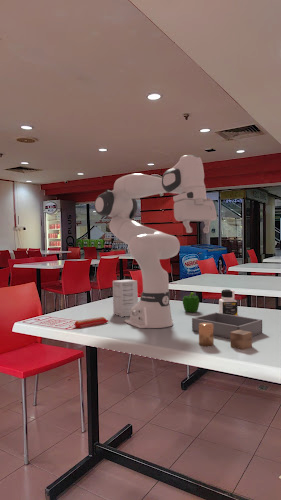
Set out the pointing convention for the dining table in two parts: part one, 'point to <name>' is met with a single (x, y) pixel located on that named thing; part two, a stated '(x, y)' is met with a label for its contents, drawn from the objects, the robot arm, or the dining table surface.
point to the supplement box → (124, 296)
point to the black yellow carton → (228, 303)
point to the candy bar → (90, 322)
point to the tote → (228, 324)
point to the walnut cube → (241, 339)
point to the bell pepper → (191, 303)
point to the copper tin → (206, 334)
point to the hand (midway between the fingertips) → (198, 232)
